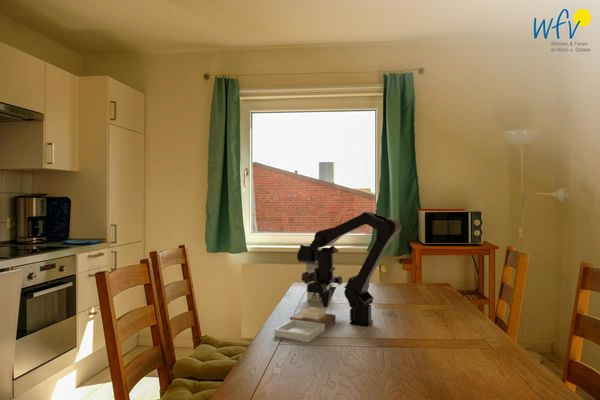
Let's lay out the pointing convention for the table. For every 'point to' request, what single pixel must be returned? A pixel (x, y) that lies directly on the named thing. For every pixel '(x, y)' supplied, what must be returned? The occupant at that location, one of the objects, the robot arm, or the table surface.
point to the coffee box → (312, 269)
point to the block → (314, 313)
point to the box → (299, 330)
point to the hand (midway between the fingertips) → (325, 307)
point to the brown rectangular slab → (327, 319)
